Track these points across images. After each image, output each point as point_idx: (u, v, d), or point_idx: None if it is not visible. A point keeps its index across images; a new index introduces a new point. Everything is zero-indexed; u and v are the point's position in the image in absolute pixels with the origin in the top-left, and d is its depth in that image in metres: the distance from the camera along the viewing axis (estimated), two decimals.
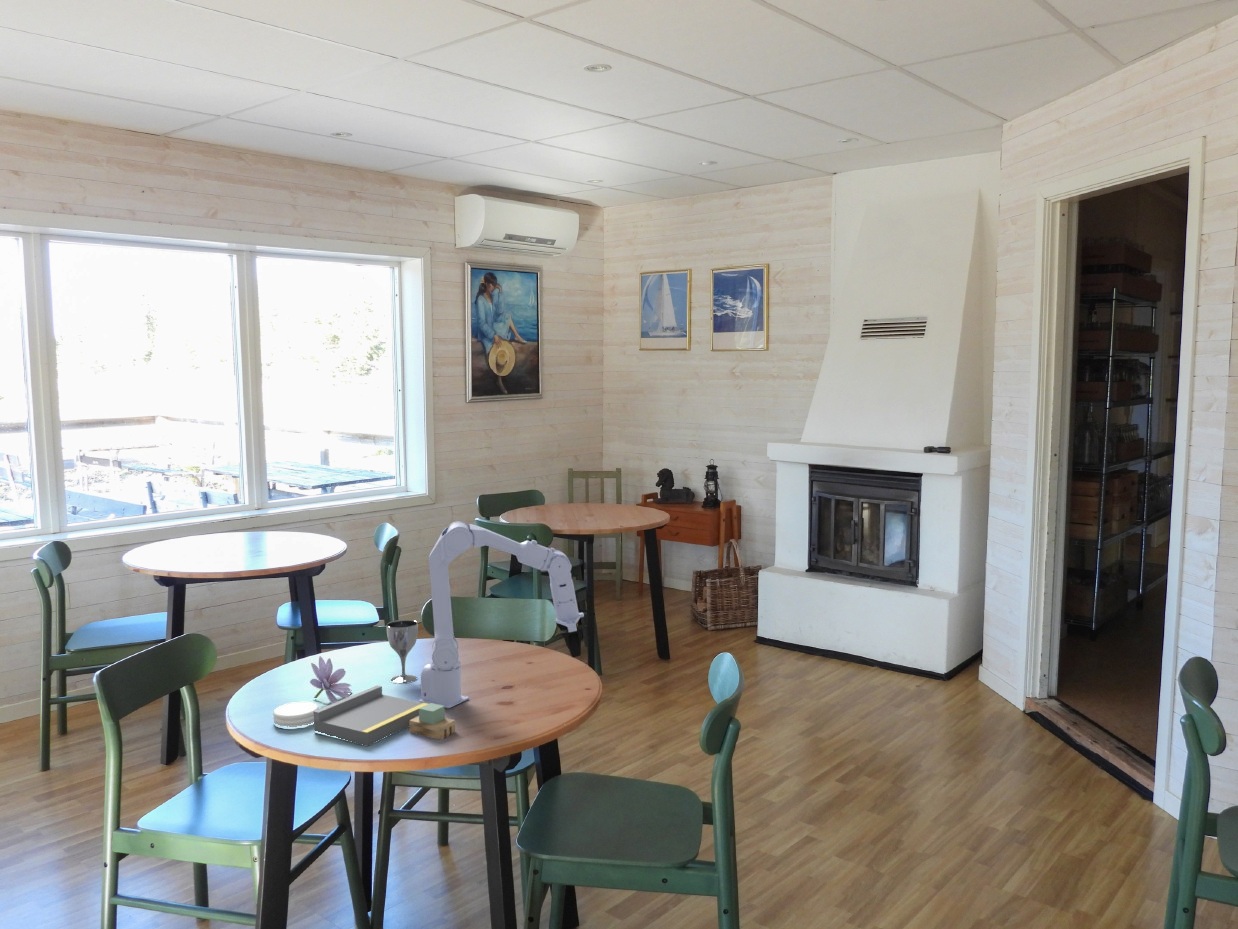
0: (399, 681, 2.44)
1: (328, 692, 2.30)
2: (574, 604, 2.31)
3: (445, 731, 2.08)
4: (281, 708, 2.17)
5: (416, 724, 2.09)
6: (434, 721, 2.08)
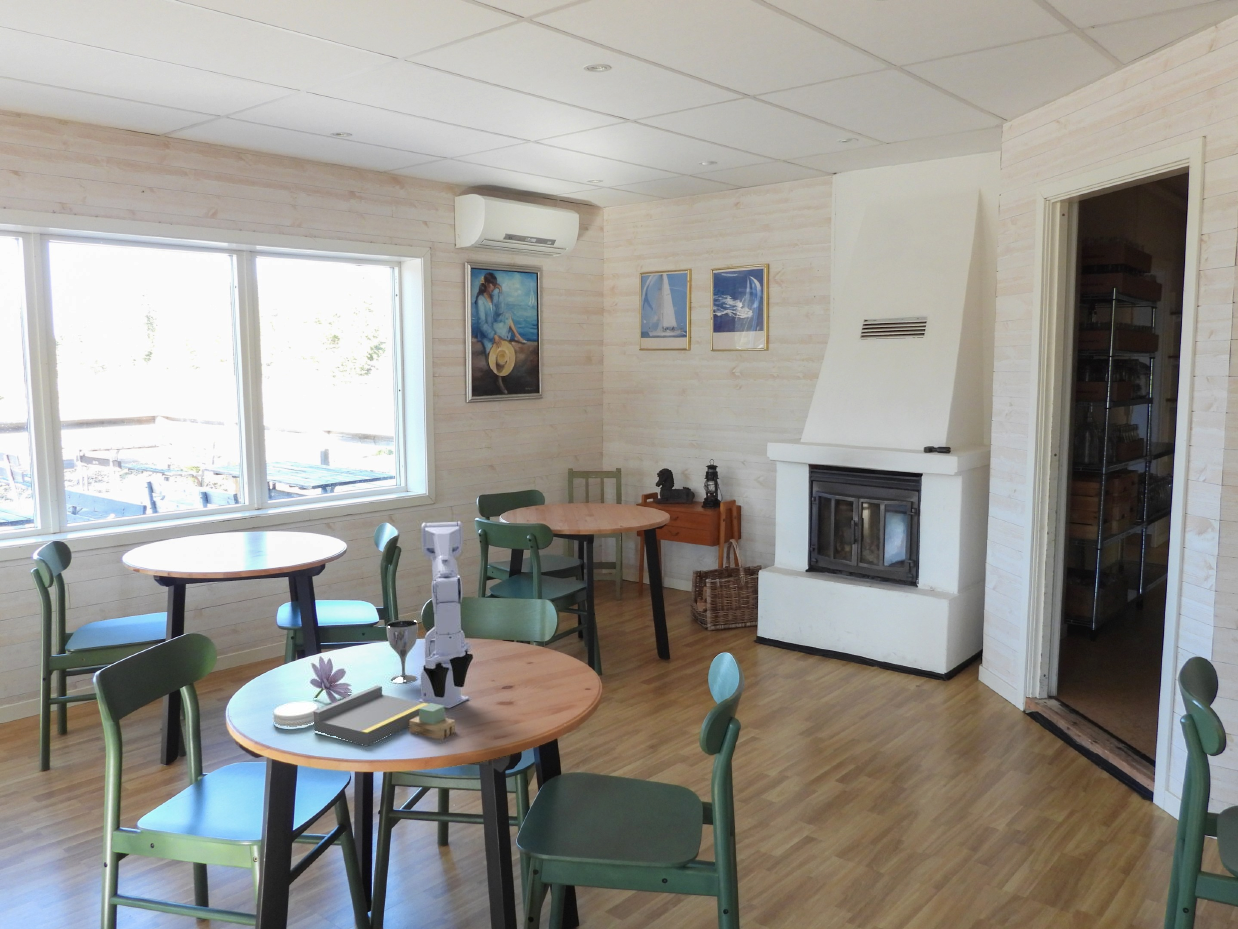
0: (399, 681, 2.44)
1: (328, 692, 2.30)
2: (450, 640, 2.05)
3: (445, 731, 2.08)
4: (281, 708, 2.17)
5: (416, 724, 2.09)
6: (434, 721, 2.08)
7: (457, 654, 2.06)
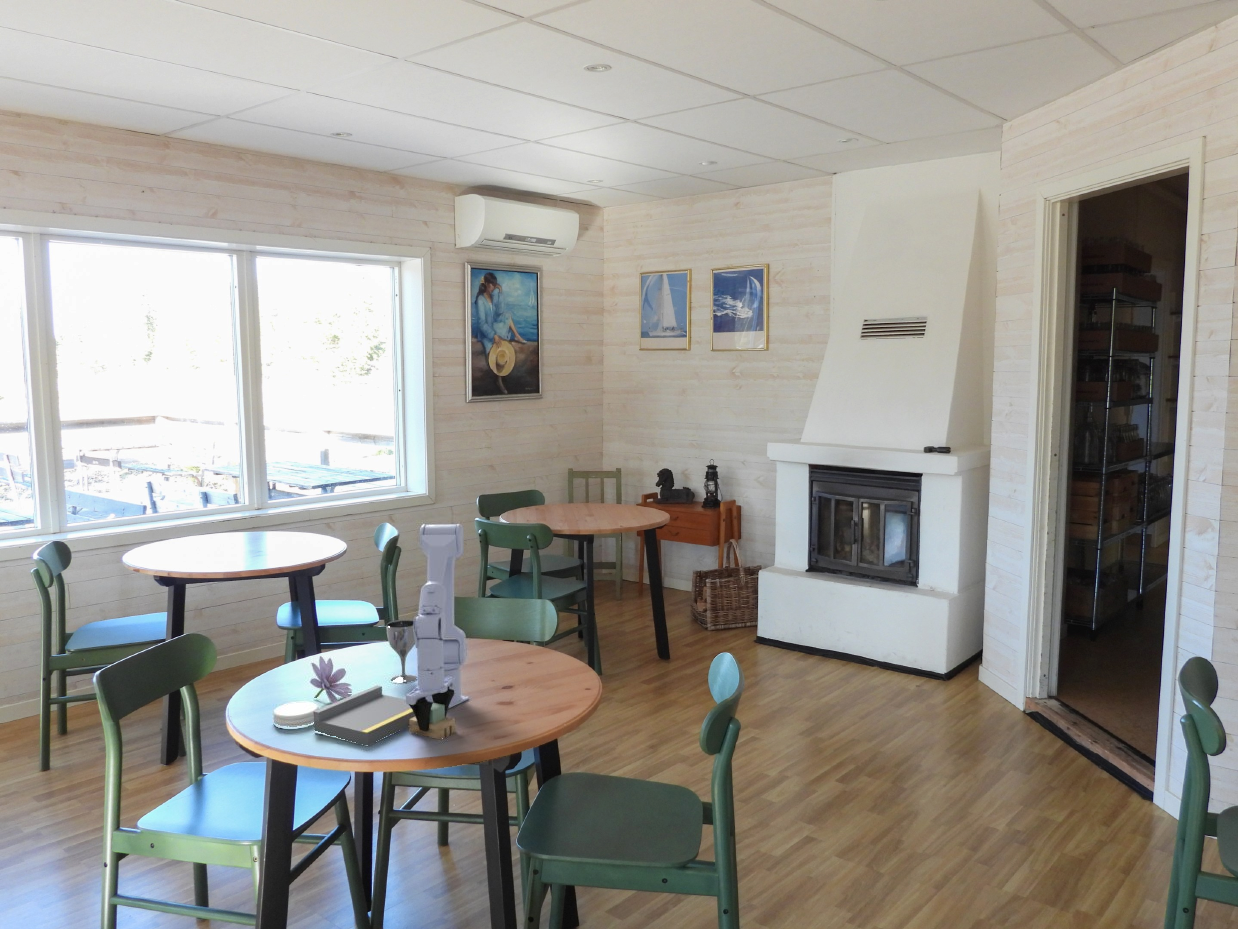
0: (399, 681, 2.44)
1: (328, 692, 2.30)
2: (432, 676, 2.06)
3: (445, 730, 2.08)
4: (281, 708, 2.17)
5: (416, 723, 2.09)
6: (434, 720, 2.08)
7: (439, 690, 2.07)
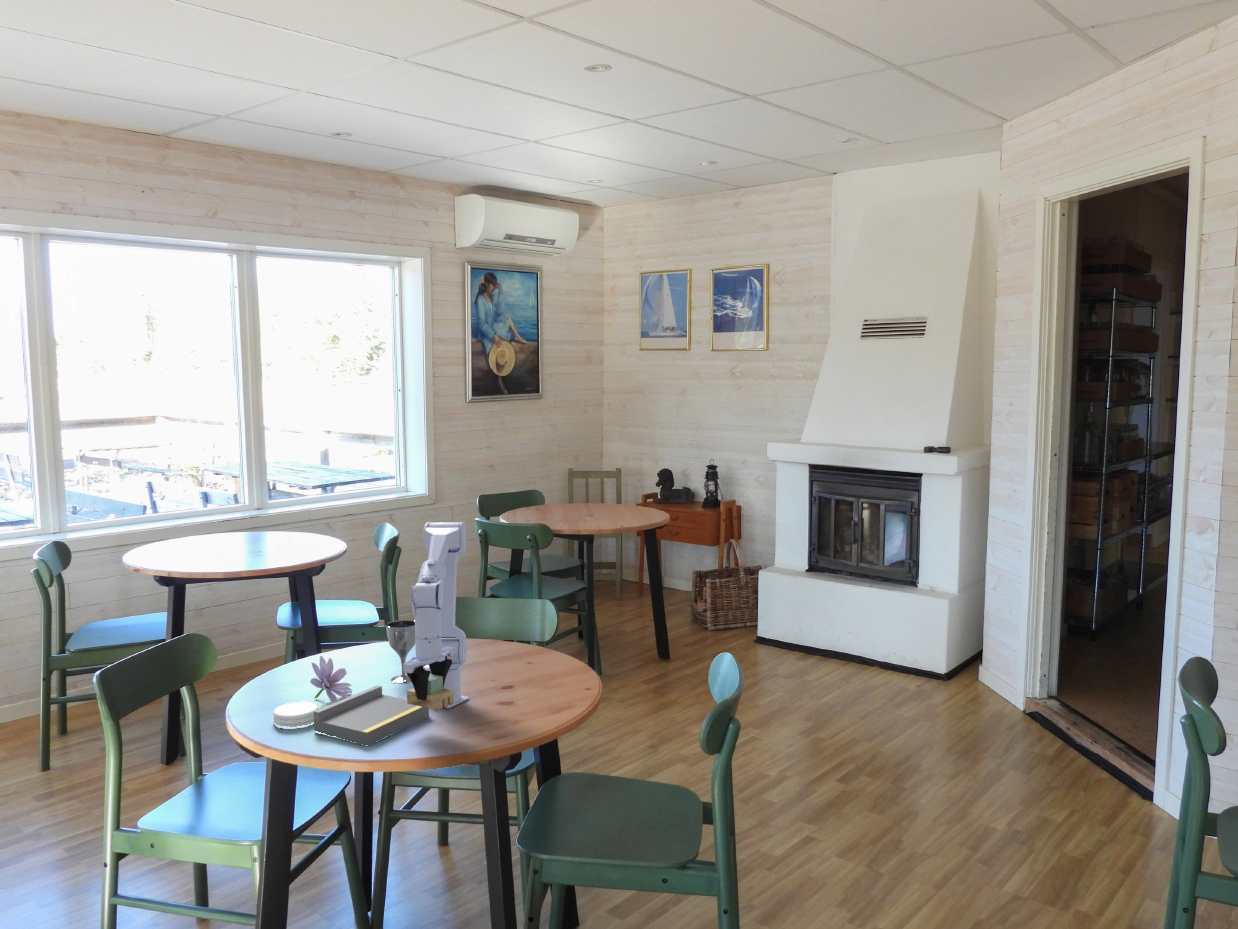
0: (399, 681, 2.44)
1: (329, 692, 2.31)
2: (429, 644, 2.06)
3: (443, 701, 2.07)
4: (281, 708, 2.17)
5: (414, 694, 2.08)
6: (432, 691, 2.07)
7: (436, 659, 2.06)
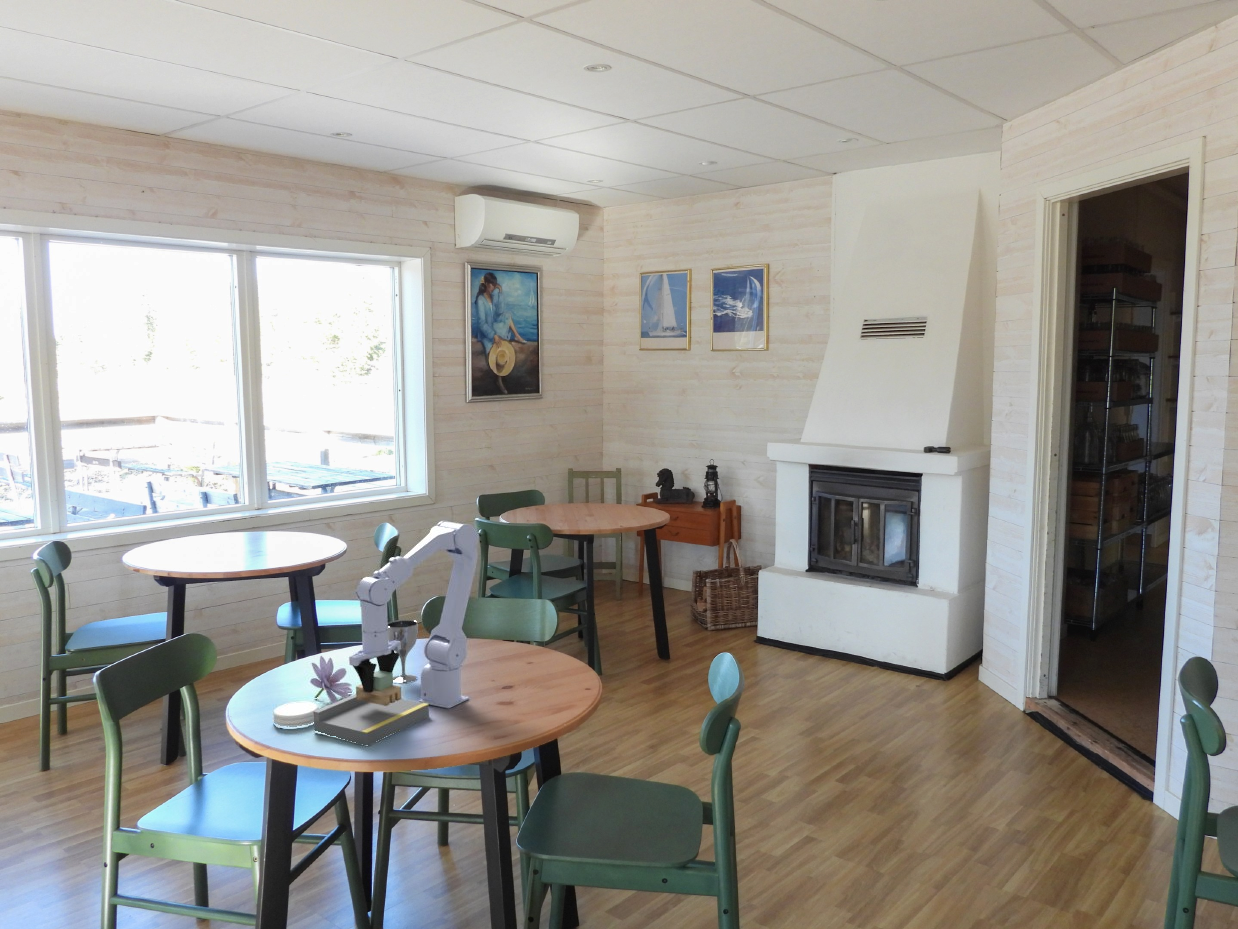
0: (399, 681, 2.44)
1: (329, 692, 2.31)
2: (375, 638, 2.11)
3: (391, 697, 2.12)
4: (281, 708, 2.17)
5: (362, 690, 2.14)
6: (381, 687, 2.12)
7: (382, 652, 2.12)
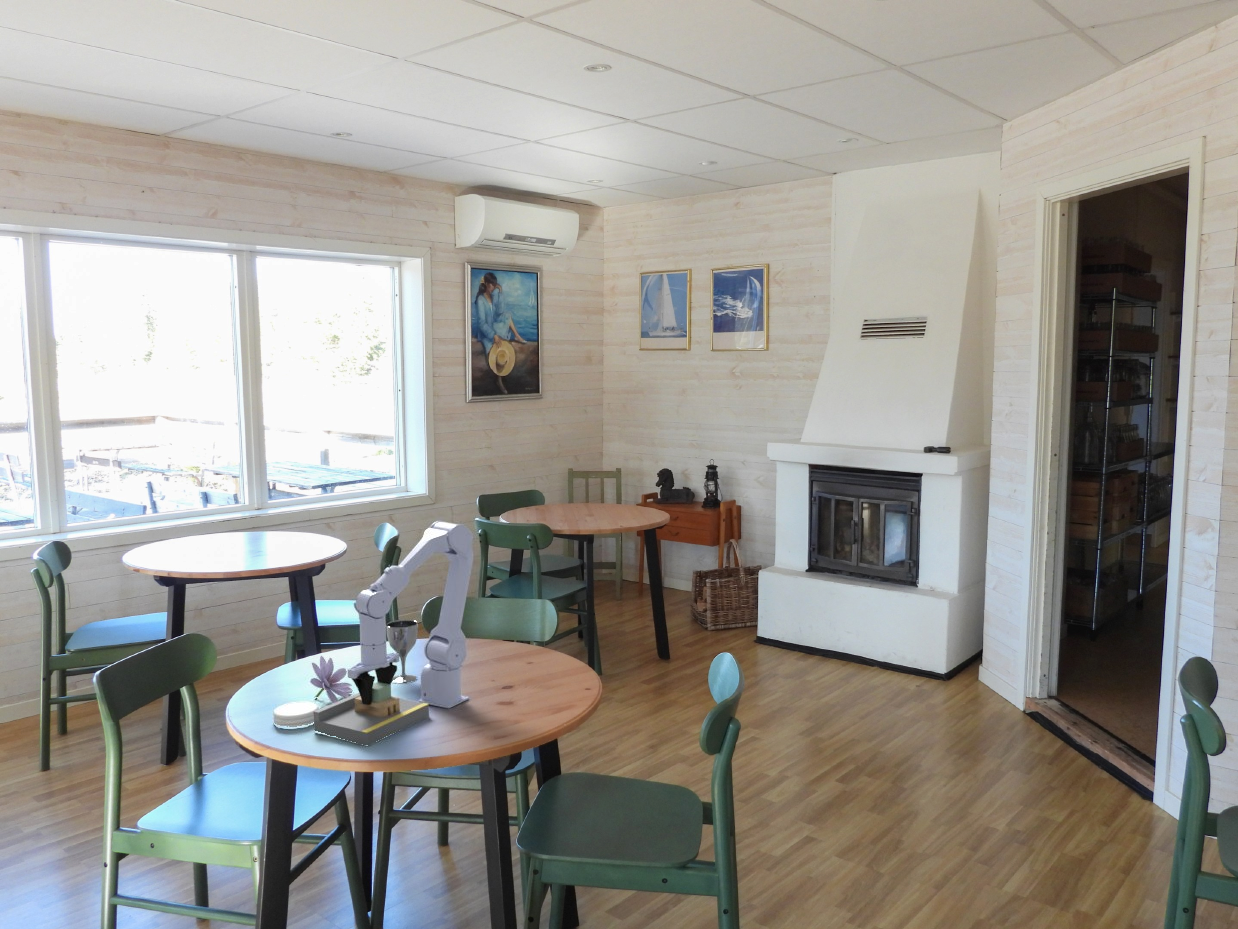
0: (399, 681, 2.44)
1: (329, 691, 2.31)
2: (374, 651, 2.11)
3: (389, 709, 2.13)
4: (281, 708, 2.17)
5: (361, 702, 2.14)
6: (380, 699, 2.12)
7: (380, 665, 2.12)
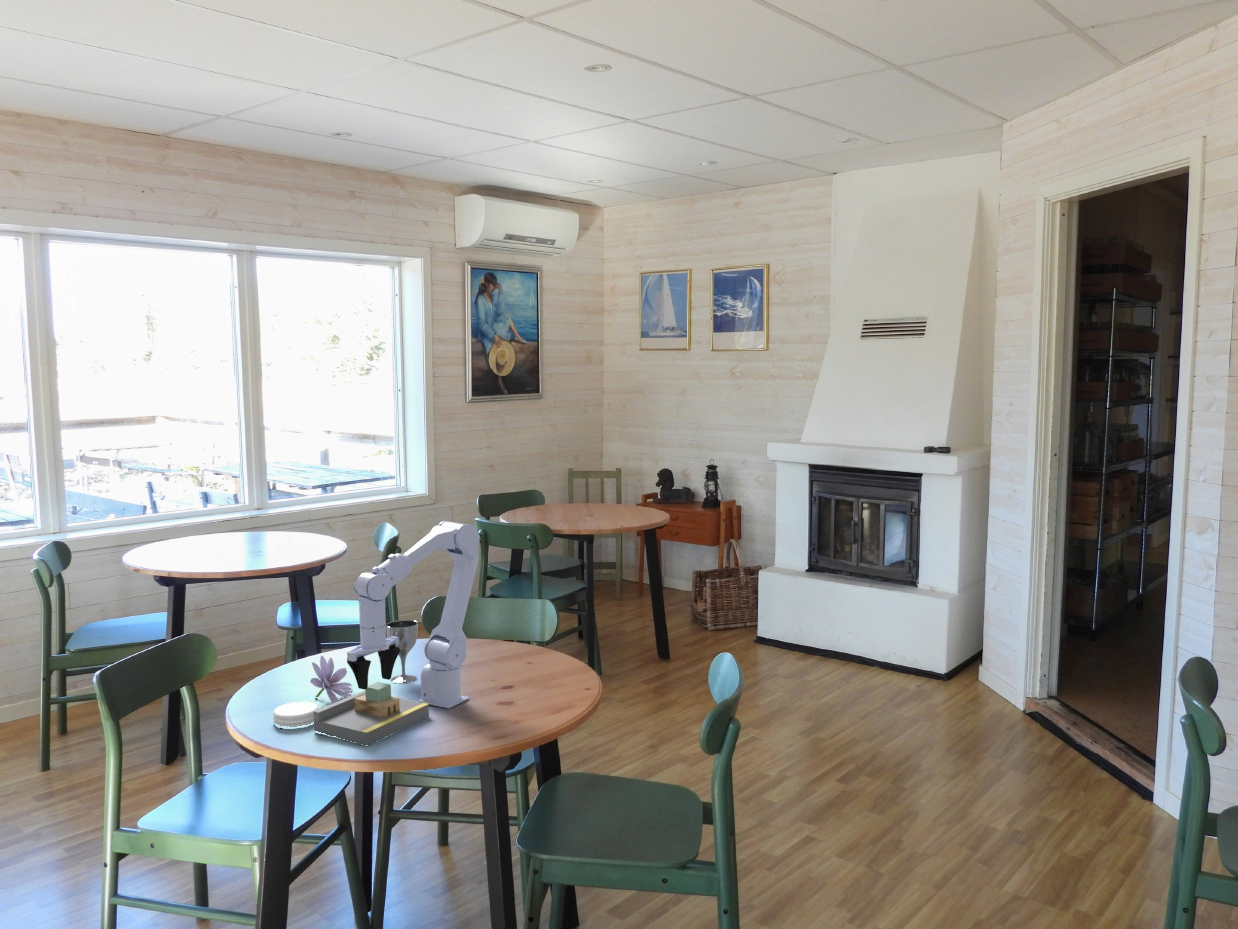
0: (399, 681, 2.44)
1: (329, 691, 2.31)
2: (373, 633, 2.11)
3: (389, 709, 2.13)
4: (281, 708, 2.17)
5: (361, 702, 2.14)
6: (380, 699, 2.12)
7: (380, 648, 2.12)
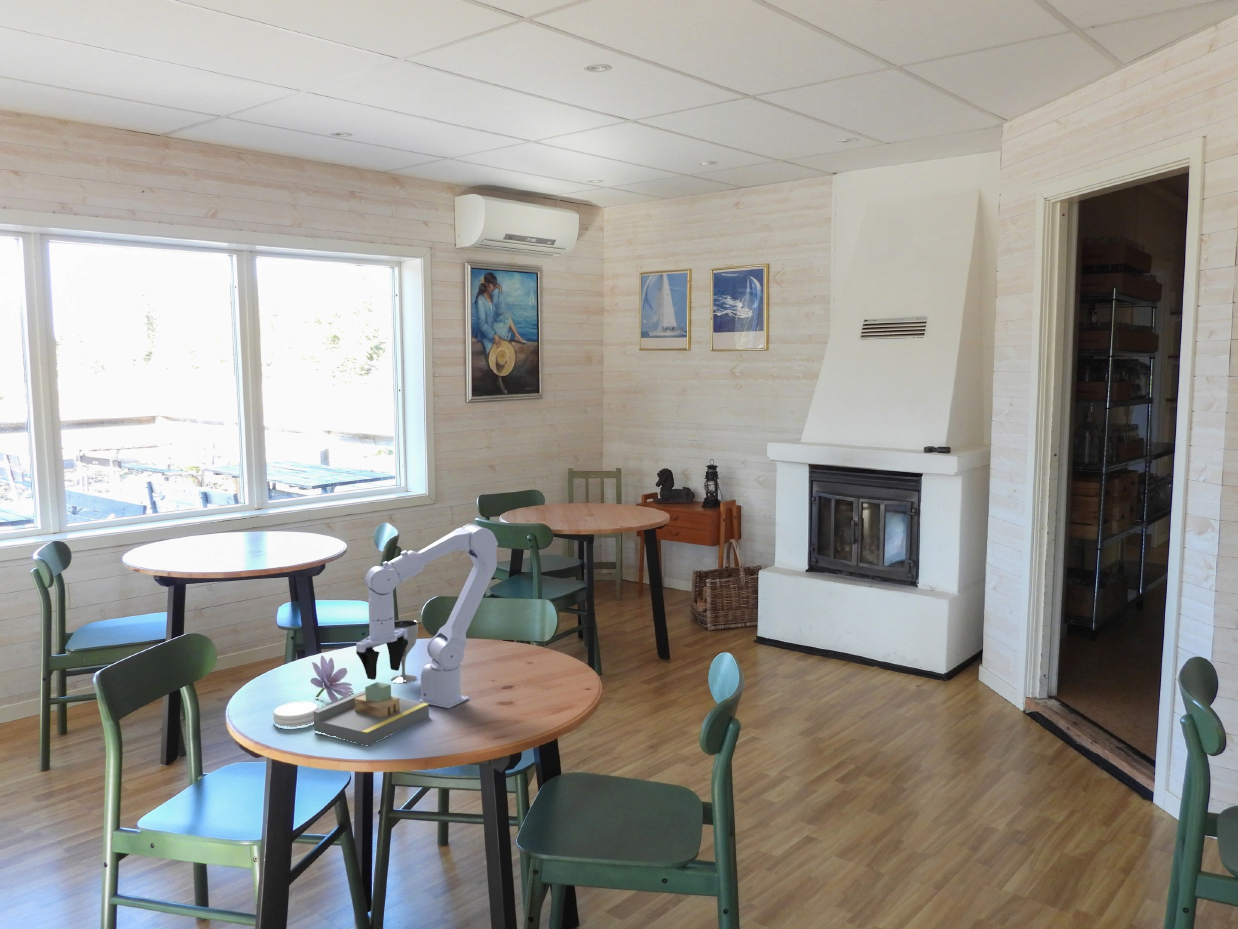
0: (399, 681, 2.44)
1: (329, 691, 2.31)
2: (382, 626, 2.18)
3: (389, 709, 2.13)
4: (281, 708, 2.17)
5: (361, 702, 2.14)
6: (380, 699, 2.12)
7: (388, 639, 2.18)
